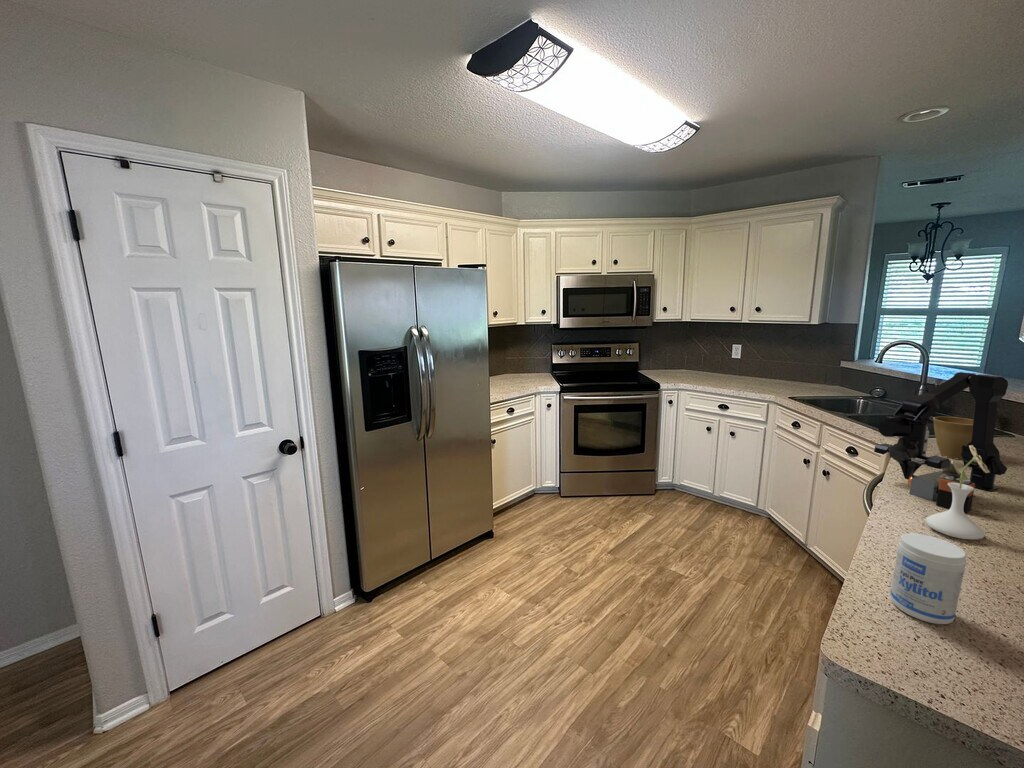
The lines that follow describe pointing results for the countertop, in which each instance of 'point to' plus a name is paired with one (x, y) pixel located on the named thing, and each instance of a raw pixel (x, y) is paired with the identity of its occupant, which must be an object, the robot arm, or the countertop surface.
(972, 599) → the countertop surface
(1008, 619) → the countertop surface
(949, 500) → the battery
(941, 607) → the supplement tub
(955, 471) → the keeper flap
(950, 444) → the plant pot
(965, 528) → the flower in vase
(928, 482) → the drawbar block
